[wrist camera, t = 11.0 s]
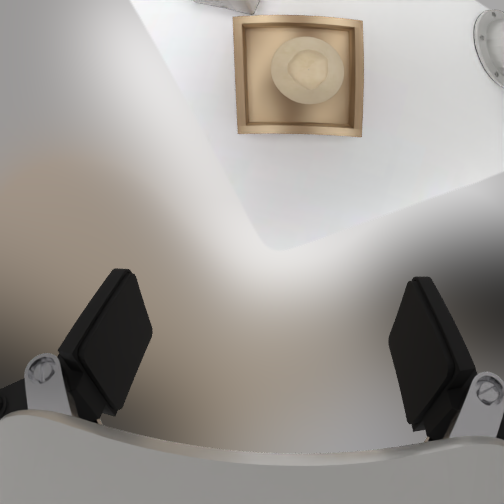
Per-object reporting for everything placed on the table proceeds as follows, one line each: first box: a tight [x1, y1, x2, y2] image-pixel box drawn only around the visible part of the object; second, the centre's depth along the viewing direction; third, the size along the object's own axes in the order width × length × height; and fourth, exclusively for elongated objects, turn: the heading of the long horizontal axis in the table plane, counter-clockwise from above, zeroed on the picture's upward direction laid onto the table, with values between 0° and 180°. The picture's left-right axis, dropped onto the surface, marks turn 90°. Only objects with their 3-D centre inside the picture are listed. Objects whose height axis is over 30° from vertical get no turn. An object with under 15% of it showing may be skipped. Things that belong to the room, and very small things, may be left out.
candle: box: [271, 37, 344, 104], centre depth 22 cm, size 6×6×10 cm
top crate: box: [233, 15, 364, 137], centre depth 26 cm, size 12×12×4 cm
